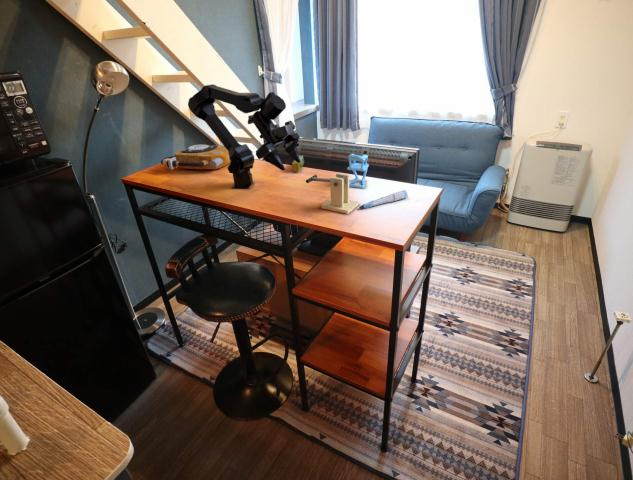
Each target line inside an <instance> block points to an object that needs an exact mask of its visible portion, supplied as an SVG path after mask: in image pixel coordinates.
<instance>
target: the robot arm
mask: <svg viewBox="0 0 633 480" xmlns="http://www.w3.org/2000/svg"><path fill="white" fill-rule="evenodd" d="M216 101H219V102H221V103H222V102H223V103H226V104H229V105H232V106H233V107H235V108H236V110H237V111H240V112H241V113H243V114H250V113H252V114H251V115H248V116H247V118H248V119H247V125H252V124H253V125H254V126H255V128H256V129H257V131H258V132H259V133H260V134H259V136H258V137H259V138H260V139H263V140H264V142H265V143H263V144H262V145H261V146H259V148H257V149H256V150H255V155H254V154H253V150H251V149H250V147H249V146H248V144H246V143H244V144H241V143H239V142H238V140H237V139H236V138H235V137H234V135H233V134H232V132H231V131H229V129H228V127H226V125H225V124H224V123H223V121H222V119H220V118H219V116H218V115H217V113H216V108H215V104H214V103H215V102H216ZM187 106H188V109H189V111H190V112H191V113H192V115H194V116H195V117H196V118H197V119H199V120H201V121H204V122H205V124H206V125H207V126H208V128H209V129H210V130H211V131H212V132H213V134H214V135H215V137H216V138H217V139H218V140H219V141H220V143H221V144H222V145H224V146H225V148H226V149H227V150H228V153H229V159H230V161H231V162H230V163H229V164H228V166H227V170H228V171H227V172H228V173H229V174H232V179H233V185H232V188H233V189H250V187H251V186H252V185H253V184H254V179H253V173H252V172H251V170H252V169H253V168H254V163H255V156H256V158H257V159H258V160H261V161H265V162H267V163H268V164H270V165H272V166H274V167H276V168H277V169H279V170H280V171H282V172H284V171H285V170H286V167H285V166H284V163H283V162H282V160H281V159H280V157H279V155H278V149H279V148H284V151H285V152H286V154H288V155H289V156H290V157H291V158H292V159H293V161H294V160H295V161H296V162H297V163H299V162H300V158H299V156H300V154H299V151H298V142H299V139H300V135H299V134H298V133H297V132H295V129H296V125H295V124H294V123H293V121H292V120H288V121H285V122H284V125H283V126H280V125H279V124H278V123H276V124H275V123H274V122H273V121H274V120H276V119H277V118H278V117H279V116H280V115H281V114H282V113H283V111H285V110H286V108H287V105H286V102H285V100H284V99H283V98H281V96H279V95H277V94H276V93H275V92H274V91H271V92H268V93H267V95H266V97H265V98H263V97H260V95H259V94H258V93H256V92H238V91H235V90H231V89H229V88H225V87H221V86H218V85H216V84H215V83H214V84H212V83H211V84H206V85H204V86H202V87H201V88H200V90H198V91H197V92H196V93H195V94H193V95H192V96H191V97H189V98H188V101H187Z"/></svg>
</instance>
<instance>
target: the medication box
mask: <svg viewBox="0 0 633 480" xmlns="http://www.w3.org/2000/svg"><path fill="white" fill-rule="evenodd" d="M299 158H300V162H299V163H297V162H296V161H295V160H294V159H293V162H291V167H292V171H293V173H298V172H300V171H301V170H302V168H303V166H304V165H305V158H304V155H302V154H301V155H300V154H299Z"/></svg>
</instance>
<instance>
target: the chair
mask: <svg viewBox="0 0 633 480" xmlns="http://www.w3.org/2000/svg"><path fill="white" fill-rule="evenodd" d="M368 158H369V155H367V154H363V155H359V154H355V153H350V154H349V155H348V157H347V160H348V163H349V165H348V166H347V168H346V170H347V171H352V172H353V173H352V174H354V177H355V178H353V179H351V180H349V188H358V189H365V188H366V175H367V172H368V170H369V169H368V168H369V167H370V164H369V163H368ZM357 171H358V172H363V175H362V178H361V184H355V183H356V182H358V181H359V180H360V179H359V178H360V177H359V176H358V173H357Z"/></svg>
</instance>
